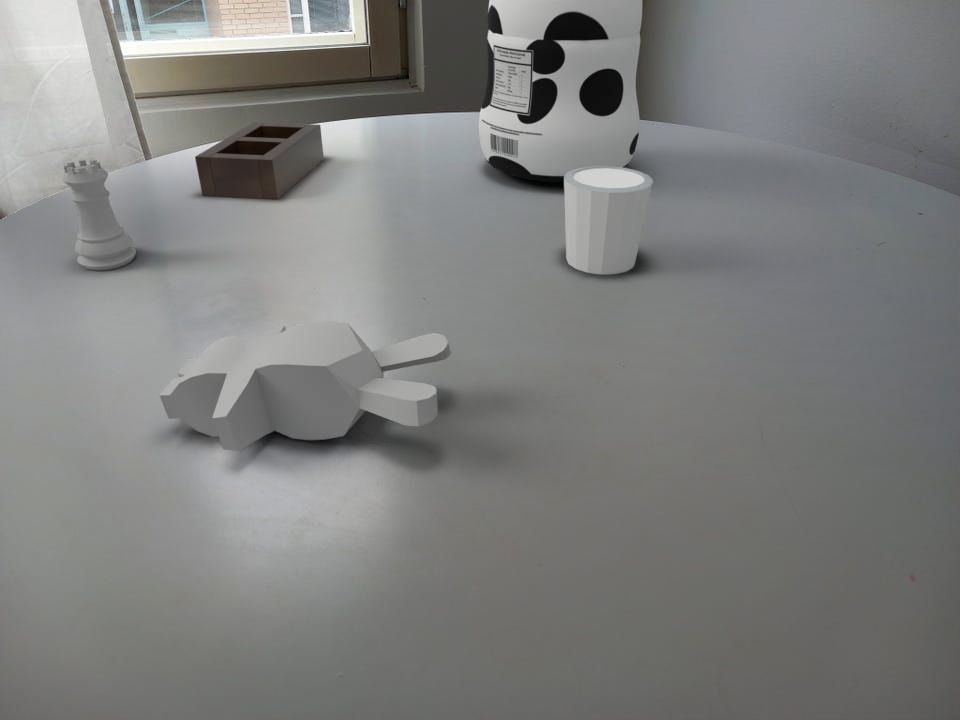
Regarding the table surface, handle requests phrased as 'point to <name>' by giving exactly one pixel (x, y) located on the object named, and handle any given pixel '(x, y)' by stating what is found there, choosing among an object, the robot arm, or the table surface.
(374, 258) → the table surface
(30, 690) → the table surface
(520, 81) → the milk container
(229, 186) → the rack
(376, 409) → the bunny figurine
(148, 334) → the table surface
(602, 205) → the shot glass
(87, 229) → the rook chess piece
